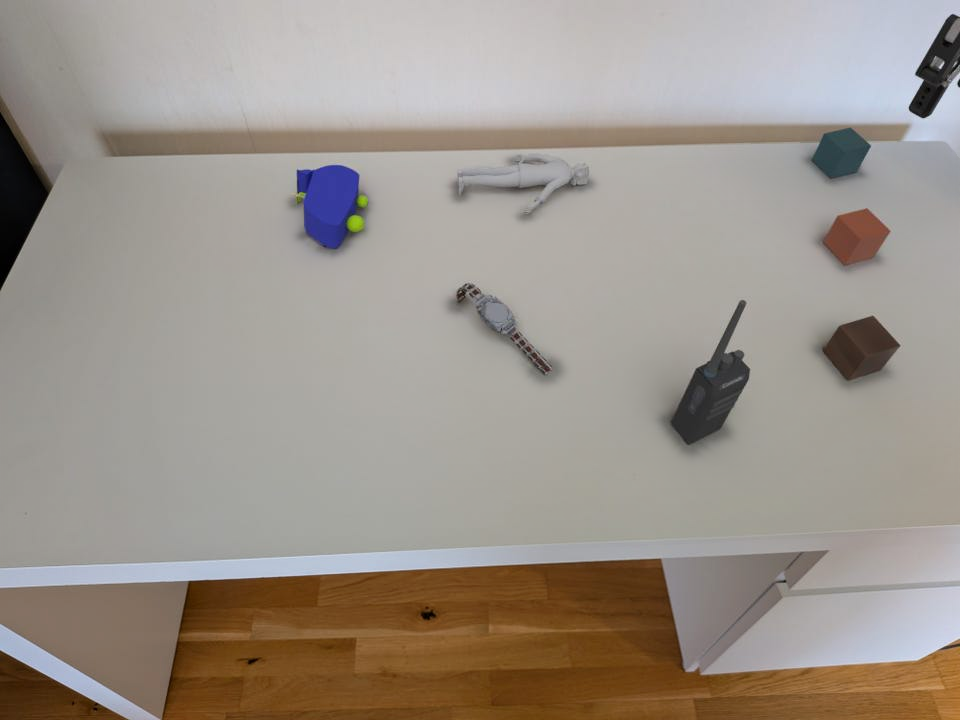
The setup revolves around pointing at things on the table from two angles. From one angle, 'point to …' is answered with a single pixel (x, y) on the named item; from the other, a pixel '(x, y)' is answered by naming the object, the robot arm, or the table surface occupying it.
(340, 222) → the toy
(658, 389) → the table surface
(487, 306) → the wristwatch
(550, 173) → the figurine
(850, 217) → the terracotta block
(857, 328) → the walnut block
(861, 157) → the teal block
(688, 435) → the walkie-talkie
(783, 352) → the table surface
